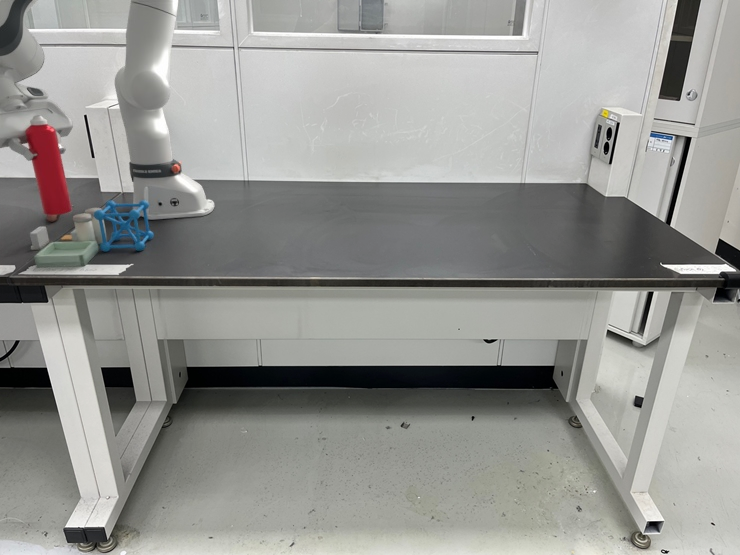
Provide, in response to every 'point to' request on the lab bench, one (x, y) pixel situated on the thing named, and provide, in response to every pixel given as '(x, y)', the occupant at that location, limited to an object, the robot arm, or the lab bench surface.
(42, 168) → the bottle
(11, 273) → the lab bench surface
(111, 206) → the molecular structure
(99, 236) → the assorted small pieces
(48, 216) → the screwdriver
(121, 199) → the lab bench surface
